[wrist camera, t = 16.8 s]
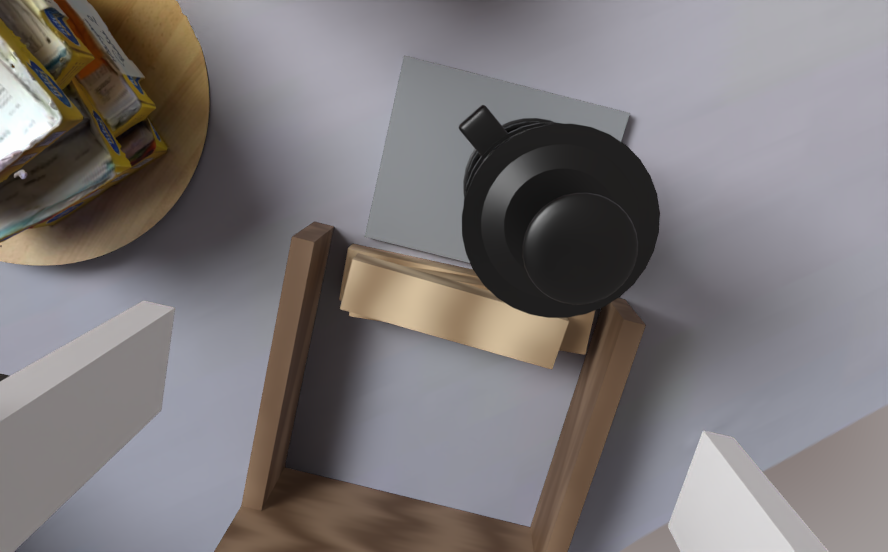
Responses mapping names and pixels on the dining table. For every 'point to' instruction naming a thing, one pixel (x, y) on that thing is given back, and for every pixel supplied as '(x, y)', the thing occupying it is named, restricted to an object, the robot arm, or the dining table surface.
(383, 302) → the offcut stack
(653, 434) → the dining table surface
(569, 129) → the french press
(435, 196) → the slate mat
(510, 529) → the wooden box
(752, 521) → the robot arm
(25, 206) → the stacked boxes on plate
